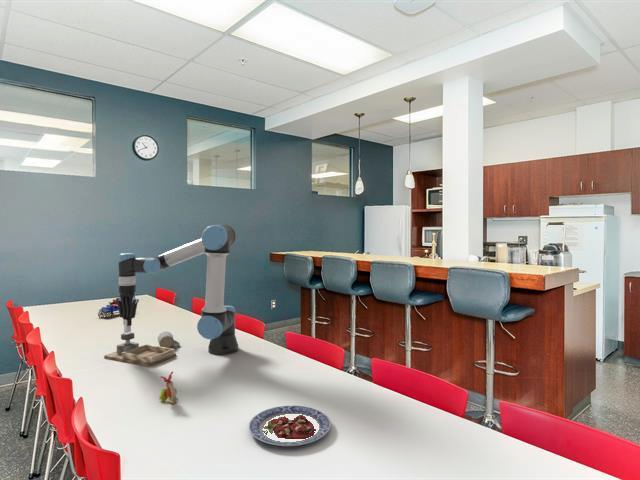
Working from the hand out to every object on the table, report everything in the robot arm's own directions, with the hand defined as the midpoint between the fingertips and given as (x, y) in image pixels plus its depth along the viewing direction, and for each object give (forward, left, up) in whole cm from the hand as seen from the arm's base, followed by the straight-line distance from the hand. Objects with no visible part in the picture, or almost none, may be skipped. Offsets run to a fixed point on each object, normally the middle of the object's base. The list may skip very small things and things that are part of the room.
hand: (127, 332), depth 201 cm
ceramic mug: (-9, -18, -12) cm, 23 cm away
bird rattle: (-59, +32, -12) cm, 68 cm away
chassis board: (-9, 0, -11) cm, 14 cm away
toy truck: (+80, -61, -12) cm, 101 cm away
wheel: (0, 0, -7) cm, 7 cm away
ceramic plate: (-108, +32, -12) cm, 113 cm away
